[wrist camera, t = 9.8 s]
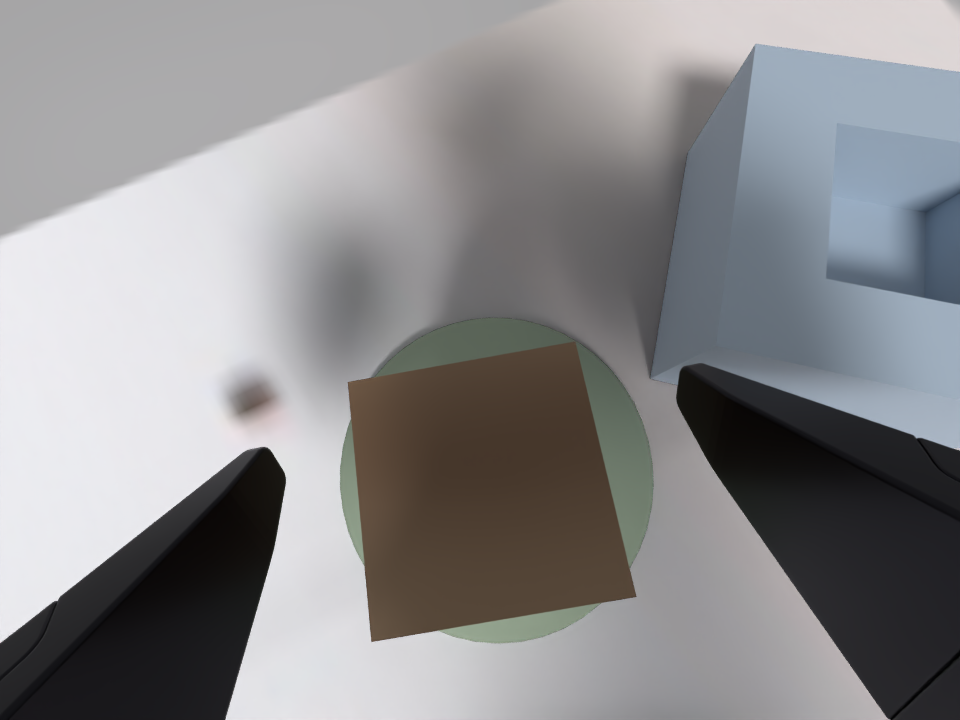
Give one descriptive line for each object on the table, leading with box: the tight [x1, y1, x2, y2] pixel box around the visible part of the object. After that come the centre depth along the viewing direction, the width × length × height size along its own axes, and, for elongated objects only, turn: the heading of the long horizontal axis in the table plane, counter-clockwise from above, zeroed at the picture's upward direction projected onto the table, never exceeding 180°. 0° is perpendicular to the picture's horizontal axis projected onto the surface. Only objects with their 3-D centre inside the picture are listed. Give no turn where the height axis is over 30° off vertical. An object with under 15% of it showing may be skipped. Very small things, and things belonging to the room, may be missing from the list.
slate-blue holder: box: [650, 44, 960, 448], centre depth 14 cm, size 11×11×5 cm
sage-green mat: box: [340, 318, 653, 643], centre depth 15 cm, size 12×12×1 cm
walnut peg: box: [348, 342, 636, 642], centre depth 11 cm, size 4×4×9 cm
